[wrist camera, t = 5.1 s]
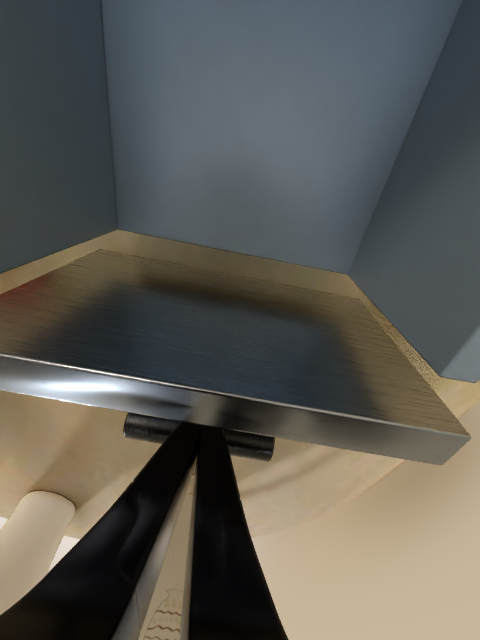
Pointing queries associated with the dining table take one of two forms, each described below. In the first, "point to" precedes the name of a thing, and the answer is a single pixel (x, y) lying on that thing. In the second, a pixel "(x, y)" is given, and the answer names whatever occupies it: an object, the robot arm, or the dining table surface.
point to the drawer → (245, 213)
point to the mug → (170, 581)
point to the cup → (31, 543)
